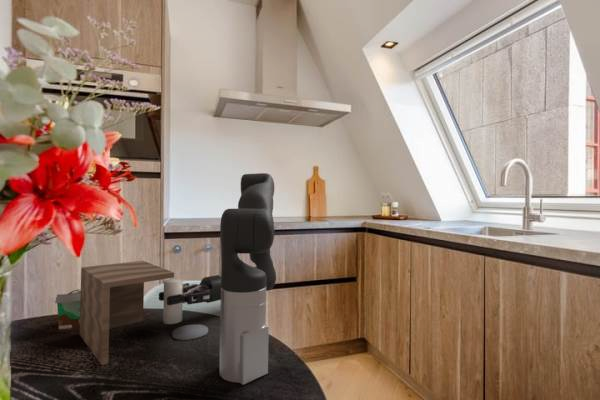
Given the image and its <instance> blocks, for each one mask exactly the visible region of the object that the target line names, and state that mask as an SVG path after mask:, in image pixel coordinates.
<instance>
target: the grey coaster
mask: <svg viewBox="0 0 600 400" xmlns="http://www.w3.org/2000/svg"><path fill="white" fill-rule="evenodd" d="M207 334H209V328H208V326H206V325H203V324H186V325H182V326H179V327H177V328H175V329H174V330H173V331H172V333H171V337H172V338H173V339H175V340H177V341H192V340H191V339H194V340H197V339H196V338H198V339H200V338H199V337H201V338H203V337H205V336H206V335H207ZM204 335H205V336H204ZM202 336H203V337H202Z"/></svg>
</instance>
